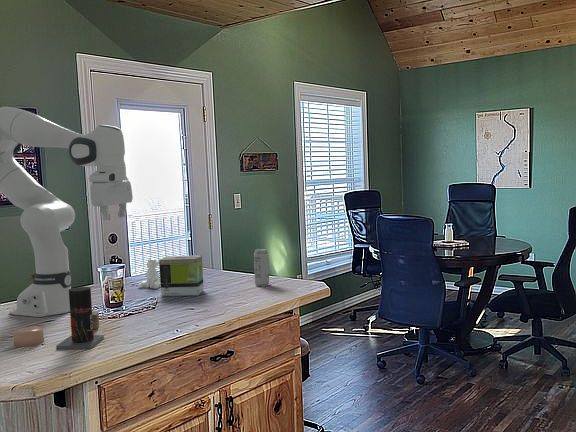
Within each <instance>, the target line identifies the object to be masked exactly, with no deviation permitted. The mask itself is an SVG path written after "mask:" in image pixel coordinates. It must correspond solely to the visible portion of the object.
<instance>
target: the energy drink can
mask: <svg viewBox="0 0 576 432" xmlns="http://www.w3.org/2000/svg"><path fill="white" fill-rule="evenodd" d="M269 262H270V261H269V252H268V251H267V248H256V249H254V253H253V267H254V269H253V270H254V272H253V273H254V284H255V286H256V287H267V286H269V284H270V269H269V268H270V265H269Z"/></svg>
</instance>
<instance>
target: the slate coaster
mask: <svg viewBox="0 0 576 432" xmlns="http://www.w3.org/2000/svg"><path fill="white" fill-rule="evenodd" d="M93 336H94V339H93V340H92V341H89V342H85V343H73V342H72V335H69V336H68V337H67V338H65V339H64V340H62V341H60V343H58V344H57V345H56V346H55V349H56V350H92V349H93V348H95V347H96V345H98V344H99V343H100V342H101V341H103V340H105V334H93Z"/></svg>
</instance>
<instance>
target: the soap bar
mask: <svg viewBox="0 0 576 432" xmlns="http://www.w3.org/2000/svg"><path fill="white" fill-rule="evenodd" d="M12 334H13V346H14V347H16V348H30V347H36V346H39V345H41V344H43V343H44V342H45V336H44V335H45V334H44V327H42V326H36V325H35V326H24V327H20V328H18V329H15V330H14V331H12Z"/></svg>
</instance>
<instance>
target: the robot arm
mask: <svg viewBox="0 0 576 432" xmlns="http://www.w3.org/2000/svg"><path fill="white" fill-rule="evenodd" d="M124 139H125V138H124V134H123V131H122V129H121V128H120V127H118V126H115V125H109V124H108V125H106V124H99V125H98V124H97V126H96V127H95V128H94V129H93V130H92V131H91V130H90V132H88V133H86V134H83V133H80V132H77V131H74V130H71V129H69V128H65V127H63V126H61V125H59V124H57V123H55V122H53V121H51V120H48V119H47V118H44V117H42V116H40V115H38V114H35V113H33V112H30V111H28V110H25V109H22V108H18V107H12V106H1V107H0V192H1V194H3V195H4V196H5V198H6V199H7V200H8V201H9V202H10V203H12V205H13V206H15V207H18V208H20V209H21V210H23V212H22V213H21V215H20V225H21V227H22V229H23V230H24V231H25V233H26V234H27V235H28V237H29V240H30V243H31V246H32V248H33V249H32V250H33V254H34V263H35V264H34V265H35V273H33V274H31V275H28V276H29V280H32V281H31V283H30V285H29V286H27V287H26V288H25V289H23V291H22V292H20V293H19V294H18V295H17V299H16V307H14V308H12V309H10V311H9V315H16V316H24V317H35V318H42V317H47V316H54V315H55V316H56V315H61V314H67V313H70V303H69V289H72V273H71V269H70V261H69V250H68V247H67V246H66V245H65V244H64V240H63V238H62V235H61V232H63V231H65V230H67V229H68V228H69V227H71V225H73V223H74V221H75V219H76V212H75V210H74V208H73V206H72V205H70V204H68V203H66V202H64V201H62V200H61V199H60V198H59V197H57V196H56V195H54V194H53V193H52V192H50V191H49V190H47V189H46V188H45V187H43V186H42V185H41V184H40V183H39V182H38V181H36V180H35V178H33V177H32V175H30V174H29V172H27V170H26V169H25V168H23V166H22V165H21V164H20V163H19V162H18V161H17V160H16V159H15V156H14V154H17V153H20V151H21V148H22V146H26V147H27V146H28V147H34V148H35V147H36V148H60V149H67V150H68V155H69V158H70V161H72V163H73V164H74V165H76V166H81V167H96V170H95V171H94V172H93V173H92V174H90V175H89V177H88V179H89V180H88V181H89V182H90V199H91V200H90V201H91V202H90V203H91V204H92V206H93V207H94V208H95V207H98V208H99V210H100V212H101V215H102V220H103V221H110V220H111V213H110V214H109V207H110V206H114V205H118V212H117V217H118V218H120V219H121V218H125V216H126V210H127V209H126V208H127V204H128V203H132V202H133V189H132V185H131V181H130V180H129V178H128V177H127V168H126V163H125V154H126V151H125V150H126V148H125V140H124Z"/></svg>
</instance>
